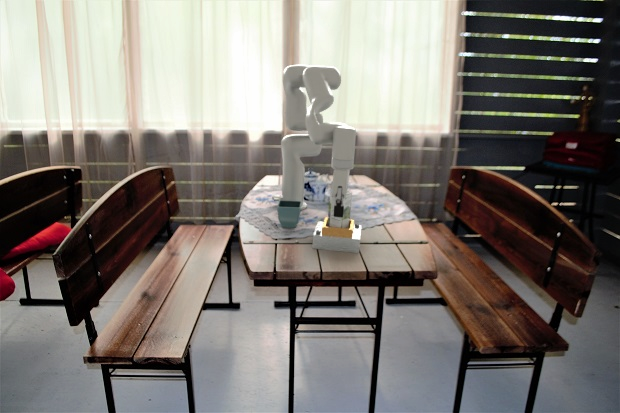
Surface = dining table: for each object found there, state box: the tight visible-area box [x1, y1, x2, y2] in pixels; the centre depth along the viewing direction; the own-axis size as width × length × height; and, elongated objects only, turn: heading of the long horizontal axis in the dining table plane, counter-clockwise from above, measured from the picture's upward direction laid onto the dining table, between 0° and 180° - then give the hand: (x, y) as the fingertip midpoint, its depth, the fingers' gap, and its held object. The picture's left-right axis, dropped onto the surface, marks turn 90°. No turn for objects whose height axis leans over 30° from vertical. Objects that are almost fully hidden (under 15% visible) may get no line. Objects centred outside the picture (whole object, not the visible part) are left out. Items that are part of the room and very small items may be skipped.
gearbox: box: [311, 216, 362, 254], centre depth 159 cm, size 16×14×8 cm
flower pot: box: [276, 200, 302, 229], centre depth 174 cm, size 9×9×9 cm
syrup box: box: [327, 190, 353, 228], centre depth 157 cm, size 6×6×14 cm
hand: (339, 212), depth 157 cm, fingers closed on syrup box, 7 cm apart
